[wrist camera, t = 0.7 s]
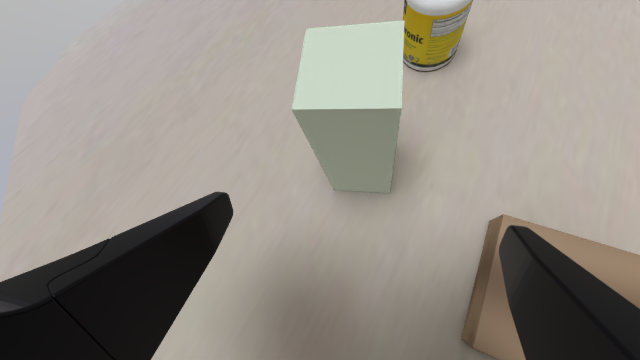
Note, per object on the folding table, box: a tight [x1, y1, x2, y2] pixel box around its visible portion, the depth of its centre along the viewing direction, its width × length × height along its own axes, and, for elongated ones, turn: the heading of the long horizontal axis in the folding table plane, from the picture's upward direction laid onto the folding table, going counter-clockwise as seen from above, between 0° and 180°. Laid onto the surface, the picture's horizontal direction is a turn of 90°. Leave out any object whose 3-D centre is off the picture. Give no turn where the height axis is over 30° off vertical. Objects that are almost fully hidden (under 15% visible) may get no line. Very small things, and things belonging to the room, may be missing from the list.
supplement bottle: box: [403, 0, 473, 71], centre depth 23 cm, size 5×5×10 cm
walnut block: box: [462, 214, 640, 360], centre depth 18 cm, size 9×9×3 cm
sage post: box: [292, 20, 404, 193], centre depth 19 cm, size 5×5×13 cm
